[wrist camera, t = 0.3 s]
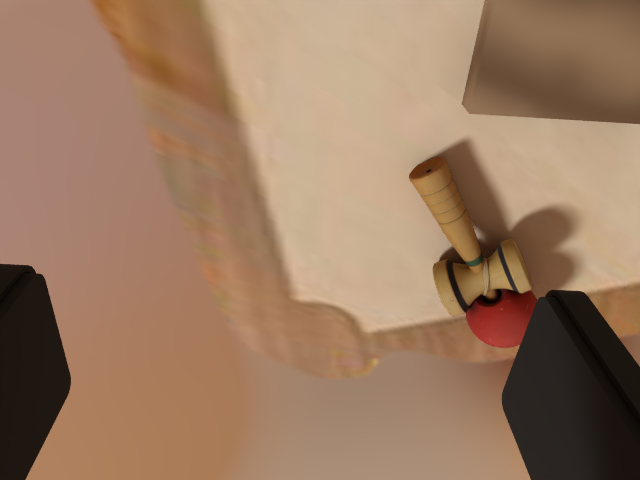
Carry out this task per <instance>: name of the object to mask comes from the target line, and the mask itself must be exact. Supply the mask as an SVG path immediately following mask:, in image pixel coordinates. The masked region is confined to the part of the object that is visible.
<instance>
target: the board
mask: <svg viewBox="0 0 640 480" xmlns="http://www.w3.org/2000/svg"><path fill="white" fill-rule="evenodd" d="M462 105H463V106H464V107H465V109H466V110H467V111H468V113H469V114H484V115H501V116H517V117H534V118H550V119H567V120H583V121H599V122H616V123H632V124H640V0H485V3H484V7H483V12H482V16H481V21H480V25H479V30H478V34H477V39H476V43H475V48H474V52H473V57H472V61H471V66H470V70H469V75H468V79H467V84H466V88H465V93H464V97H463V102H462Z"/></svg>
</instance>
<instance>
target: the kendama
mask: <svg viewBox="0 0 640 480" xmlns="http://www.w3.org/2000/svg"><path fill="white" fill-rule="evenodd" d="M409 179H410V181H411V182H412V184H413V185H414V187H415V188H416V190H417V191H418V192H419V194H420V195H421V197H422V199H423V200H424V202H425V203H426V205H427V206H428V208H429V210H430V211H431V212H432V214H433V216H434V218H435V219H436V221H437V222H438V224H439V226H440V227H441V229H442V231H443V232H444V234H445V235H446V237H447V238H448V240H449V241H450V243H451V244H452V245H453V247H454V248H455V249H456V251H457V252H458V253H459V255H460V256H461V257H462V259H463V260H464V261H465V262H466V264H467V265H464V264H458V263H454V262H452V261H449V260H448V259H445V260H442V261H440V262H437V263H435V264H434V265H433V277H434V281H435V285H436V288H437V291H438V293H439V296H440V298H441V301H442V303H443V305H444V307H445V309H446V310H447V312H448V313H449V314H450V315H451V316H453V317H455V316H458V315H462V314H465V313H466V319H467V322H468V325H469V327H470V329H471V330H472V332H473V333H474V334H475V335H476V336H477V337H478V338H479V339H480V340H481V341H483V342H484V343H486V344H488V345H491V346H494V347H499V348H510V347H514V346H518V345H520V344H521V342H522V339H523V336H524V334H525V331H526V328H527V326H528V323H529V321H530V318H531V315H532V313H533V310H534V307H535V305H536V302H537V299H536V297H535V296H534V294H533V293H532V291H531V289H532V288H533V285H532V282H531V279H530V276H529V273H528V270H527V268H526V265H525V262H524V260H523V258H522V255H521V253H520V251H519V248H518V246H517V244H516V242H515V240H514V239H508V240H504V241H502V242H501V243H500V245H499V247H498V248H497V250H496V251H495V252H494V253H493V254H492V255H491V256H490V257H488V258H483V256H482V252H481V250H480V247H479V243H478V240H477V237H476V234H475V231H474V228H473V226H472V223H471V221H470V218H469V216H468V213H467V211H466V209H465V207H464V204H463V202H462V200H461V198H460V195H459V192H458V190H457V188H456V185H455V183H454V180H453V178H452V175H451V172H450V170H449V167H448V164H447V162H446V160H445V158H442V157H437V158H432V159H429V160H427V161H425V162H424V163H422V164H419V165H418V166H417V167H415V168H414V169H413V170H412V172H411V173H410V175H409Z"/></svg>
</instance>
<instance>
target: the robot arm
mask: <svg viewBox="0 0 640 480" xmlns="http://www.w3.org/2000/svg"><path fill="white" fill-rule="evenodd" d="M70 385H71V377H70V372H69V368H68V364H67V361H66V357H65V353H64V349H63V345H62V342H61V338H60V334H59V330H58V327H57V323H56V319H55V315H54V311H53V307H52V304H51V300H50V296H49V293H48V288H47V285H46V281H45V278H44V277H43V275H42V274H36V272H35V270H34V269H33V267H32V266H28V265H10V264H0V480H25V479H26V477H27V475H28V473H29V471H30V469H31V467H32V465H33V463H34V461H35V459H36V457H37V455H38V454H39V452H40V450H41V448H42V446H43V444H44V442H45V440H46V438H47V436H48V434H49V432H50V430H51V428H52V426H53V424H54V422H55V420H56V418H57V416H58V414H59V412H60V410H61V408H62V406H63V404H64V402H65V400H66V398H67V396H68V393H69V390H70ZM502 405H503V410H504V412H505V415H506V418H507V420H508V423H509V425H510V428H511V430H512V433H513V435H514V438H515V440H516V443H517V445H518V448H519V450H520V453H521V455H522V458H523V460H524V463H525V465H526V468H527V470H528V473H529V475H530V478H531V480H640V367H639V365H638V364H637V362H636V361H635V360H634V358H633V357H632V356H631V354H630V353H629V352H628V350H627V349H626V348H625V346H624V345H623V344H622V342H621V341H620V339H619V338H618V337H617V335H616V334H615V333H614V331H613V330H612V329H611V327H610V326H609V325H608V323H607V322H606V320H605V319H604V318H603V316H602V315H601V314H600V312H599V311H598V310H597V308H596V307H595V306H594V304H593V303H592V301H591V300H590V299H589V297H588V296H587V295H586V294H585V293H584V292H581V291H566V290H551V291H549V292H548V293H547V294H546V296H545V297H540V298H539V299H538V300H537V302H536V305H535V307H534V310H533V313H532V315H531V318H530V321H529V323H528V326H527V328H526V331H525V334H524V336H523V339H522V342H521V344H520V347H519V350H518V352H517V355H516V358H515V360H514V363H513V366H512V368H511V371H510V373H509V376H508V379H507V381H506V384H505V387H504V389H503V393H502Z"/></svg>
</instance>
